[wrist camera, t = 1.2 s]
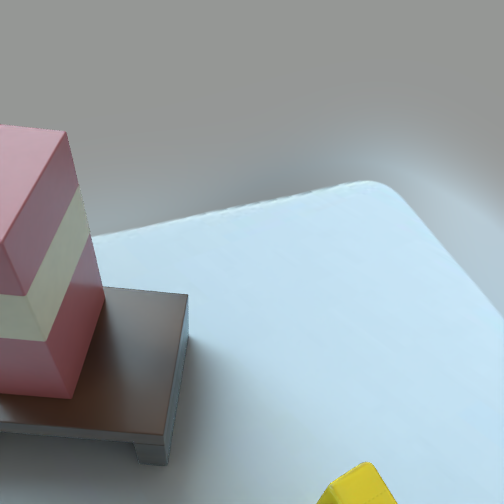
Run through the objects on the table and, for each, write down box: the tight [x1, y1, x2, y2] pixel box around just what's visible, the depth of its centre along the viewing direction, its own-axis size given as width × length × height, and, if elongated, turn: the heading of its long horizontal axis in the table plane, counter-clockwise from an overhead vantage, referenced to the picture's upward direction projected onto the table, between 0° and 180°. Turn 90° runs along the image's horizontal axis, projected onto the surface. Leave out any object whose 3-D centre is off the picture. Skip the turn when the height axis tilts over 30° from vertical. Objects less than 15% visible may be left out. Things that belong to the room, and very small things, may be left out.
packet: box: [0, 124, 105, 399], centre depth 18 cm, size 6×4×10 cm, turn 177°
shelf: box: [0, 287, 189, 466], centre depth 23 cm, size 8×12×4 cm, turn 87°
